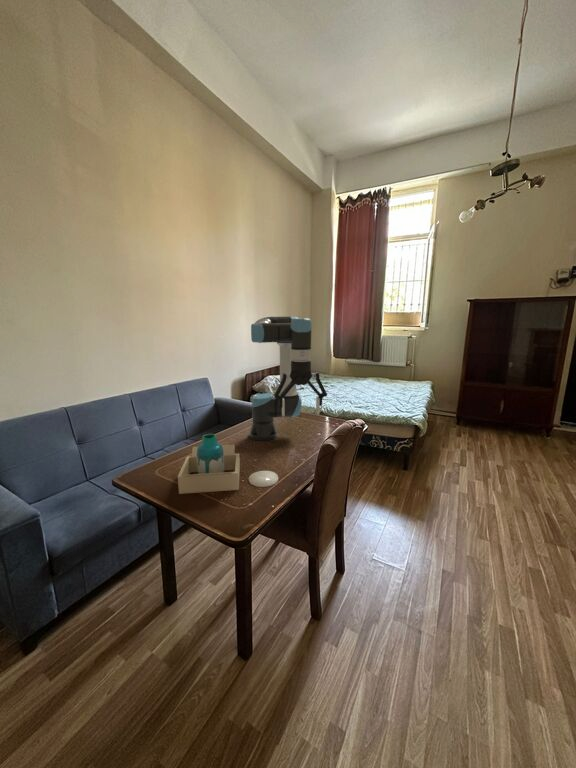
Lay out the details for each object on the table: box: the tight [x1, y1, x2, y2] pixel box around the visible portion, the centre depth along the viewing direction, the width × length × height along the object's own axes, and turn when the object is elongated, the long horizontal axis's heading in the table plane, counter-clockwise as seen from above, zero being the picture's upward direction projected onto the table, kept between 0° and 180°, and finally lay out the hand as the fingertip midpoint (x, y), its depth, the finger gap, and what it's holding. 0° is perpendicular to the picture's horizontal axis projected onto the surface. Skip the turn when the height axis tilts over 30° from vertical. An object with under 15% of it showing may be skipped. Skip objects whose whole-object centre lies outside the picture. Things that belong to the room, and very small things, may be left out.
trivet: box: [248, 470, 279, 488], centre depth 128 cm, size 12×12×1 cm
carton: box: [177, 444, 241, 495], centre depth 126 cm, size 25×22×10 cm
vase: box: [197, 433, 225, 474], centre depth 125 cm, size 11×11×19 cm
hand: (300, 414), depth 121 cm, fingers open, 13 cm apart
